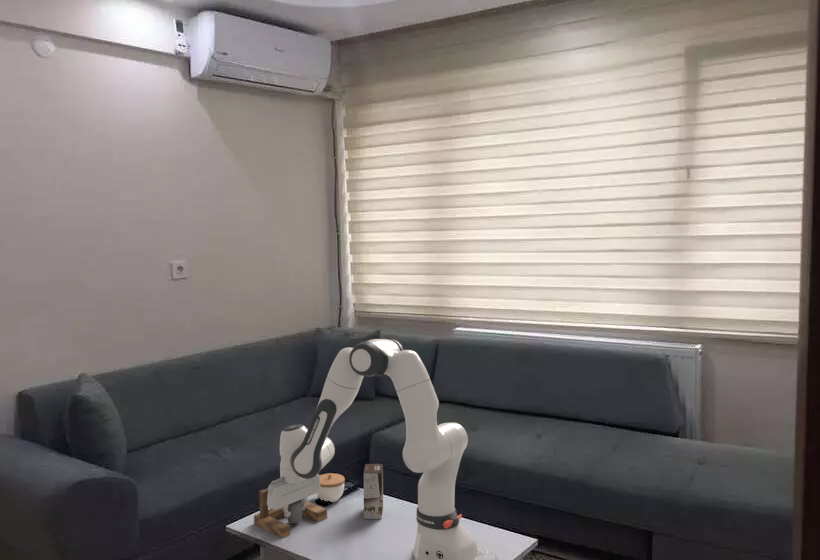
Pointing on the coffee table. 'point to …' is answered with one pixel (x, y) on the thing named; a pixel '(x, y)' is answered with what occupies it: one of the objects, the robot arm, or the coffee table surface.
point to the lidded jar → (331, 487)
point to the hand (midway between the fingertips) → (294, 513)
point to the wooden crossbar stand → (269, 517)
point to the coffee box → (373, 491)
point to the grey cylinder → (295, 512)
